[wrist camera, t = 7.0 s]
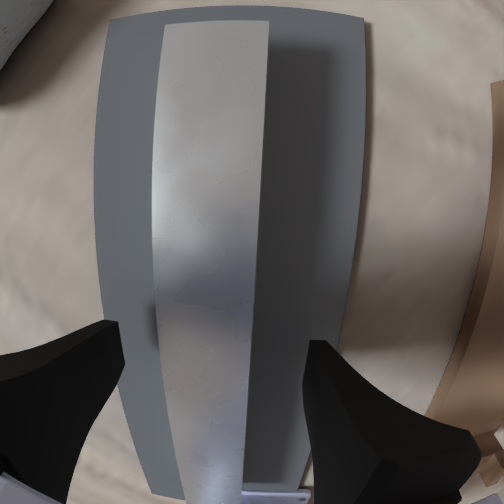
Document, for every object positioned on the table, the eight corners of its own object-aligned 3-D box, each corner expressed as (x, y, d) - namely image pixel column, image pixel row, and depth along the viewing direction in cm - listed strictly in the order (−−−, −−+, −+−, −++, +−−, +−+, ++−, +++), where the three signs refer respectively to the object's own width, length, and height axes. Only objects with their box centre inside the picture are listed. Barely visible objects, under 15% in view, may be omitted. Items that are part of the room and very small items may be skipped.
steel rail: (242, 482, 15) (239, 514, 13) (194, 477, 15) (187, 507, 13) (269, 50, 9) (268, 20, 7) (185, 51, 9) (165, 24, 7)
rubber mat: (290, 504, 16) (290, 508, 16) (153, 489, 17) (152, 493, 16) (361, 22, 9) (363, 18, 9) (114, 23, 9) (110, 20, 9)
